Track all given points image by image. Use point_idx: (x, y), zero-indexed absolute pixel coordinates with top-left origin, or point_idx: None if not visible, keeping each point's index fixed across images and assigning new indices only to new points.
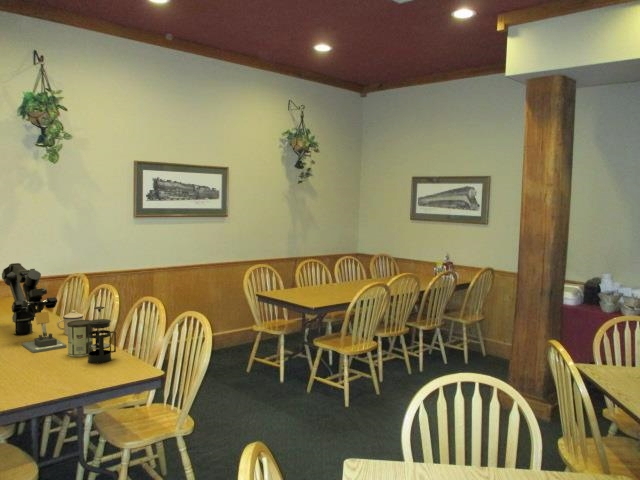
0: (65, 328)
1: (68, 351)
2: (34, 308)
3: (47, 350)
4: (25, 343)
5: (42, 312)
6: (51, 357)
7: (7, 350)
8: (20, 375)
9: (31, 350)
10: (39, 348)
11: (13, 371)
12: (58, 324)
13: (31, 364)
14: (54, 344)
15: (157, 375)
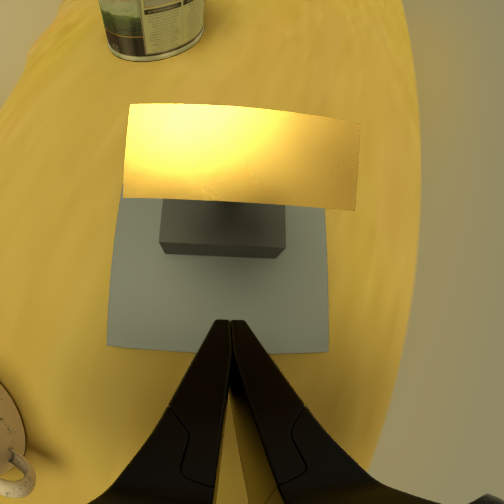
0: (2, 433)
1: (202, 21)
2: (322, 487)
3: None
4: (315, 321)
5: (242, 109)
6: (265, 47)
7: (405, 286)
8: (376, 6)
9: None
10: None
11: (392, 32)
12: (22, 479)
13: (345, 37)
14: None
15: None
